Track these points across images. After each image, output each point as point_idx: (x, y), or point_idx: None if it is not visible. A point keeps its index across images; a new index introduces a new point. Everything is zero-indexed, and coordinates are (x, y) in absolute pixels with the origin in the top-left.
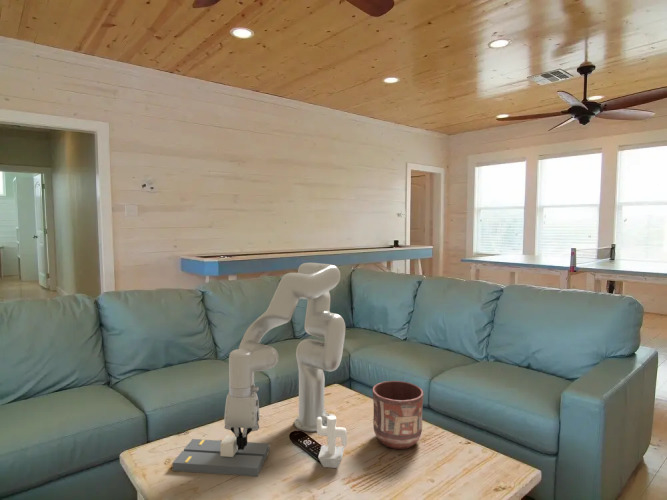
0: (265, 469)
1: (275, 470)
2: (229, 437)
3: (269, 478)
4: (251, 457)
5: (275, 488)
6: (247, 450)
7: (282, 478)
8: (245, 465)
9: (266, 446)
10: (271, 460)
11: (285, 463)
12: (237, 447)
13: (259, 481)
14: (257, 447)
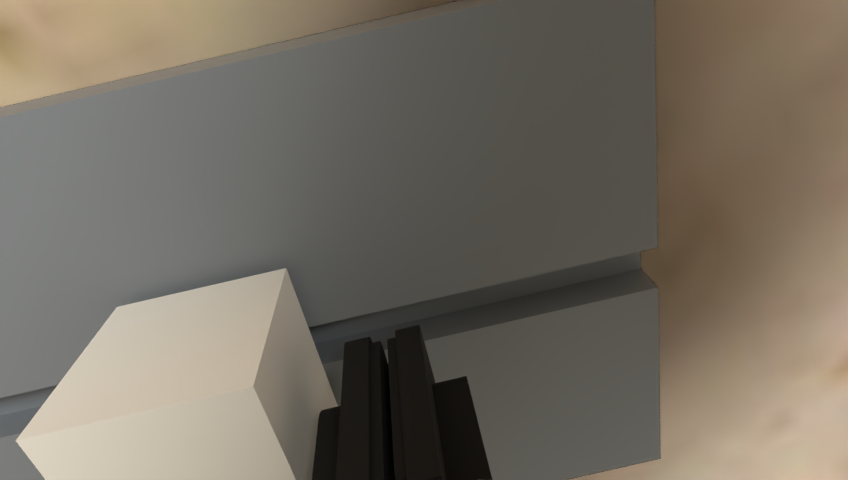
0: (665, 305)
1: (760, 288)
2: (139, 472)
3: (729, 388)
4: (536, 347)
5: (794, 455)
6: (420, 249)
7: (834, 356)
8: (535, 464)
9: (637, 68)
10: (686, 157)
11: (844, 157)
12: (294, 317)
13: (661, 438)
14: (519, 141)
